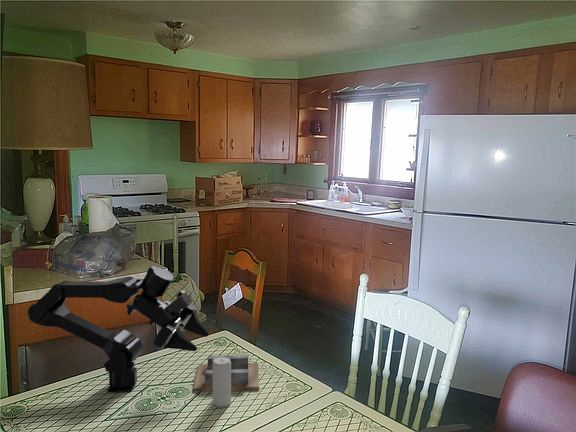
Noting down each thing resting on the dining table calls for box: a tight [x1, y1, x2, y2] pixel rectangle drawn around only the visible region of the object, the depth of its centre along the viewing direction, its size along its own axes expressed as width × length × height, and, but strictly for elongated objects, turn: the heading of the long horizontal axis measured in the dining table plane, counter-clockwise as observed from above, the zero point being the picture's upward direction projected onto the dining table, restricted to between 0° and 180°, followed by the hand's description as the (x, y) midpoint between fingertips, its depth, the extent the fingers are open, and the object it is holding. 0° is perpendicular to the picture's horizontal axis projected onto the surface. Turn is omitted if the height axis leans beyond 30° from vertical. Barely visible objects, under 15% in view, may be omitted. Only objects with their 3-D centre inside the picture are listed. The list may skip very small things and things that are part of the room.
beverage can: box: [212, 355, 232, 408], centre depth 122 cm, size 5×5×12 cm
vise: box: [193, 354, 260, 393], centre depth 136 cm, size 18×15×4 cm
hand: (202, 342), depth 124 cm, fingers open, 9 cm apart
